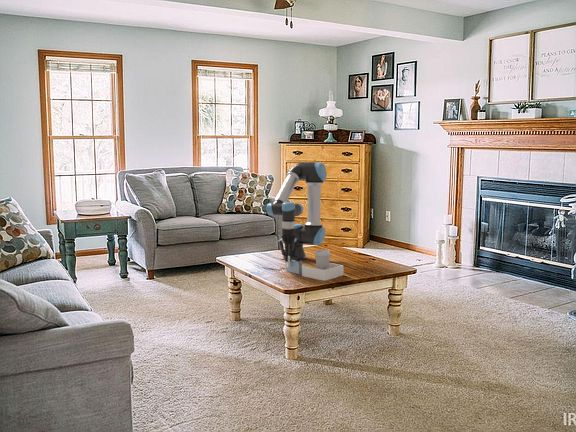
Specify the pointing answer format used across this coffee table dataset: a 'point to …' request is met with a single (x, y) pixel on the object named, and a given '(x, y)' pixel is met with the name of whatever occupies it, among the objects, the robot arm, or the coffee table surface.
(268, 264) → the coffee table surface
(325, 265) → the coffee cup
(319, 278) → the white open box
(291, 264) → the grey flat plate
